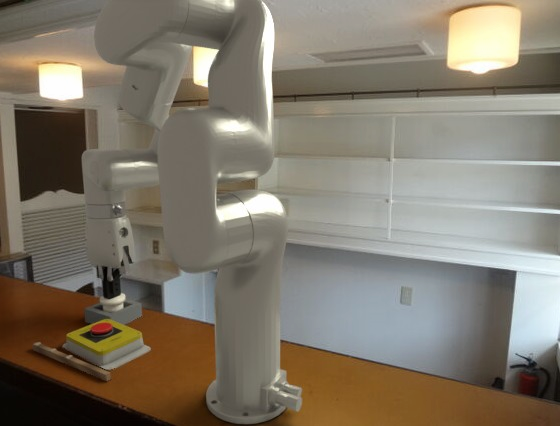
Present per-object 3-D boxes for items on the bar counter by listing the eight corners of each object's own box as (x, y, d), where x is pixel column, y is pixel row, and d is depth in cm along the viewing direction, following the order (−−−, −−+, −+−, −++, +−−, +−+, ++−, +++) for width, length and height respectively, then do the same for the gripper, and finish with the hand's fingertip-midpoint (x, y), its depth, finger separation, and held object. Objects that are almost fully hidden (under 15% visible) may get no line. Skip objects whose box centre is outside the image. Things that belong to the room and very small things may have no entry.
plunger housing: (142, 316, 95) (141, 303, 94) (111, 331, 88) (110, 316, 88) (116, 308, 99) (115, 296, 98) (85, 322, 92) (84, 308, 92)
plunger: (131, 312, 94) (130, 295, 93) (112, 320, 90) (110, 303, 89) (115, 307, 97) (114, 290, 96) (95, 315, 92) (94, 298, 92)
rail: (111, 379, 72) (110, 371, 71) (106, 381, 71) (106, 373, 70) (37, 348, 81) (36, 341, 81) (32, 350, 81) (32, 343, 80)
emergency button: (103, 310, 89) (152, 329, 80) (104, 330, 90) (153, 351, 81) (58, 326, 81) (106, 350, 73) (60, 348, 82) (108, 374, 74)
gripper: (146, 211, 89) (151, 297, 92) (97, 204, 96) (103, 284, 99) (116, 218, 82) (122, 310, 86) (65, 210, 90) (73, 295, 93)
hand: (112, 296), depth 93 cm, fingers closed
